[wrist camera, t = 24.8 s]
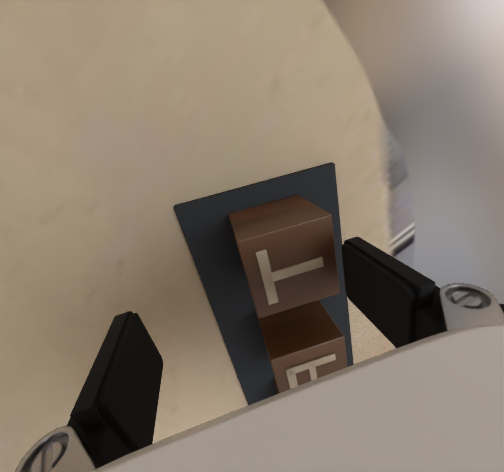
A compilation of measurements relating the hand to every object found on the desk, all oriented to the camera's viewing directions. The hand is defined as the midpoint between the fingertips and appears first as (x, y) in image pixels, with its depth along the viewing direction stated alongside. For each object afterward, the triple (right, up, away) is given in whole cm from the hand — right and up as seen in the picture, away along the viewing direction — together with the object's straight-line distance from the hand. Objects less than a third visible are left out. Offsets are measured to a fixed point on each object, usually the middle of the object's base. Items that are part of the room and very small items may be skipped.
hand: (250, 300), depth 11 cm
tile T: (+1, +3, +5) cm, 6 cm away
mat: (+3, -4, +8) cm, 10 cm away
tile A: (+3, -4, +8) cm, 9 cm away
